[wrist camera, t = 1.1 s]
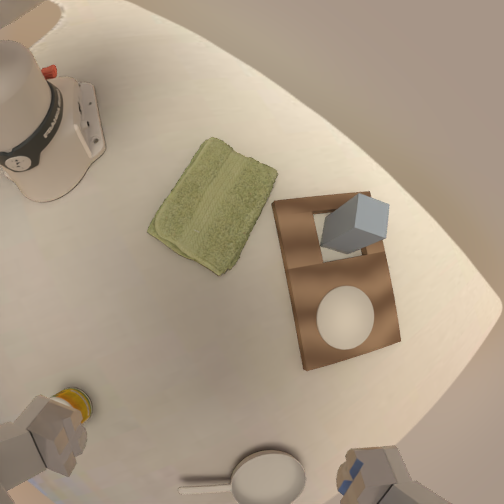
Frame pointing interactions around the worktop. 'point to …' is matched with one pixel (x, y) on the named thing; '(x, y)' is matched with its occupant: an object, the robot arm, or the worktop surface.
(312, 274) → the walnut board
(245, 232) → the washcloth
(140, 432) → the worktop surface
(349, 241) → the slate block
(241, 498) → the saucepan
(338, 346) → the felt coaster
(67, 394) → the supplement bottle
